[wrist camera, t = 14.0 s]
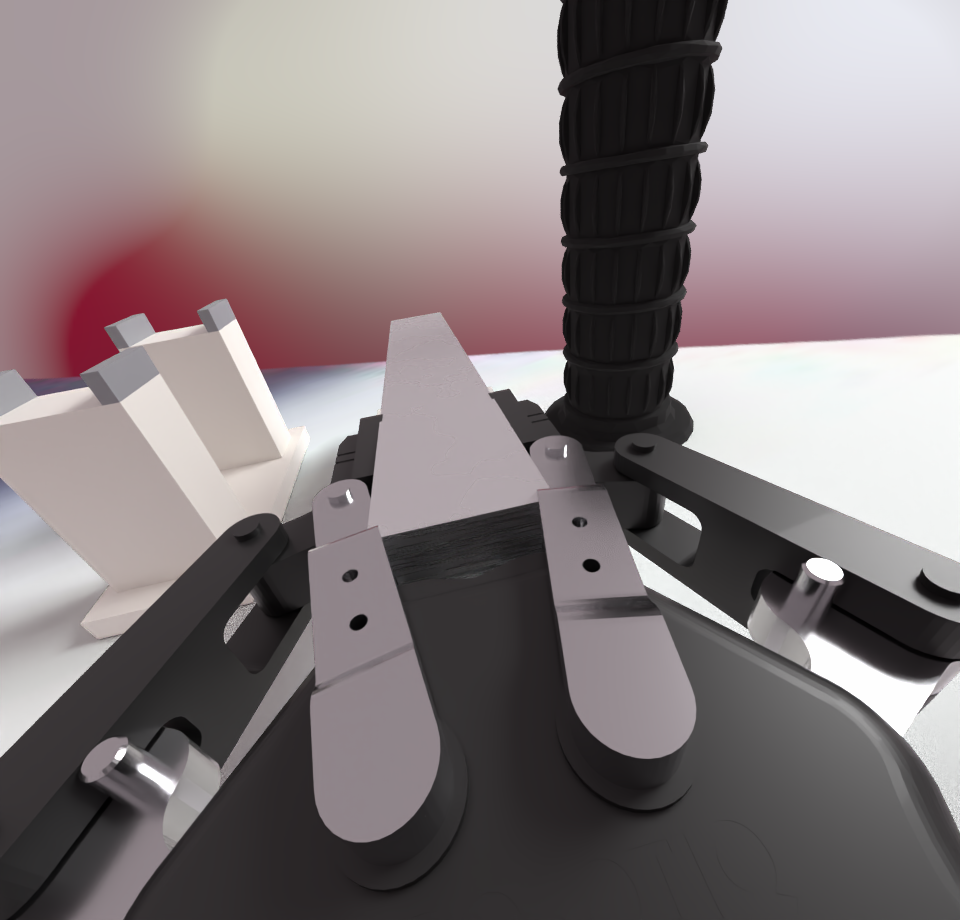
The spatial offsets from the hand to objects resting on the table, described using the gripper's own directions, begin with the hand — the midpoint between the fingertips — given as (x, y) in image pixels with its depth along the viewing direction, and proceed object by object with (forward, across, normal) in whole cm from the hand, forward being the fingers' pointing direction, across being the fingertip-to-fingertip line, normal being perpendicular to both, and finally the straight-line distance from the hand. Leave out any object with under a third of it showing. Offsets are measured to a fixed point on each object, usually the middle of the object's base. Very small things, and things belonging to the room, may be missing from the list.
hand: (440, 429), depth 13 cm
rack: (+10, +14, +8) cm, 19 cm away
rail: (+5, 0, +3) cm, 6 cm away
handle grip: (+11, -12, +8) cm, 19 cm away
